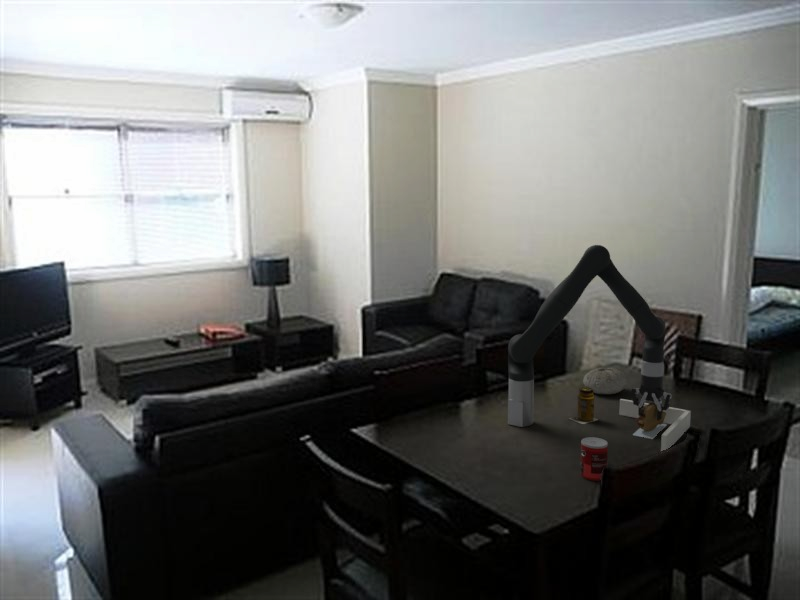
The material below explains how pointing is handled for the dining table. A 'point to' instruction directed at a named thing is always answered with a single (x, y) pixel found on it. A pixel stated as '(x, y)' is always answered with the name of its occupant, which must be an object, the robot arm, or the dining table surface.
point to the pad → (649, 432)
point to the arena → (673, 416)
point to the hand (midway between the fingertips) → (650, 418)
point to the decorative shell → (605, 380)
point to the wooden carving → (649, 417)
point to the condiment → (585, 406)
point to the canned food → (593, 457)
